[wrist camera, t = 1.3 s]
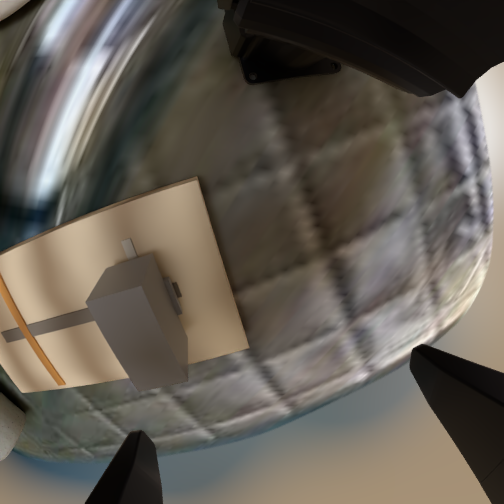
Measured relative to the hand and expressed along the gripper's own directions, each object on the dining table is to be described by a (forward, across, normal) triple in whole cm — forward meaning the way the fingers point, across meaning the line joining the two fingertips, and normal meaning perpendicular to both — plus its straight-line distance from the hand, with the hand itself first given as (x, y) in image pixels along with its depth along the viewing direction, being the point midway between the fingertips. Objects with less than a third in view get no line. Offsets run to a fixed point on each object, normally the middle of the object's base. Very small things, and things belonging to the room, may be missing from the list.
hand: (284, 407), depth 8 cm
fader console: (+13, +12, +1) cm, 18 cm away
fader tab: (+10, +6, 0) cm, 12 cm away
